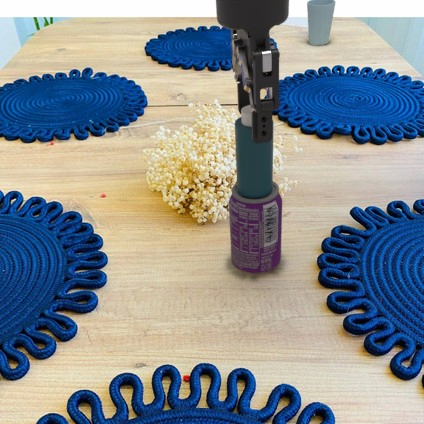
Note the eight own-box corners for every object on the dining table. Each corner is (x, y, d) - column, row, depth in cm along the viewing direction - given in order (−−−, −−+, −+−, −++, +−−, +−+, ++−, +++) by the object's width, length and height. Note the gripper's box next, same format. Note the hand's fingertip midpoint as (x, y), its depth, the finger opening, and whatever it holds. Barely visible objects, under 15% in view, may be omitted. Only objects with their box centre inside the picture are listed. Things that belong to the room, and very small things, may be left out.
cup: (307, 47, 149) (309, 6, 142) (303, 39, 155) (304, -1, 148) (334, 45, 149) (337, 4, 142) (328, 37, 155) (332, -3, 148)
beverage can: (282, 249, 79) (284, 176, 71) (278, 279, 74) (280, 204, 66) (235, 246, 80) (232, 174, 72) (228, 276, 75) (224, 202, 67)
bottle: (268, 178, 71) (268, 99, 64) (276, 195, 67) (277, 114, 60) (234, 182, 71) (231, 104, 64) (240, 200, 67) (238, 119, 60)
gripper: (308, -21, 48) (301, 148, 58) (272, -46, 58) (271, 101, 69) (226, -12, 47) (234, 157, 58) (204, -39, 58) (214, 108, 69)
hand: (254, 126), depth 63 cm, fingers open, 8 cm apart
